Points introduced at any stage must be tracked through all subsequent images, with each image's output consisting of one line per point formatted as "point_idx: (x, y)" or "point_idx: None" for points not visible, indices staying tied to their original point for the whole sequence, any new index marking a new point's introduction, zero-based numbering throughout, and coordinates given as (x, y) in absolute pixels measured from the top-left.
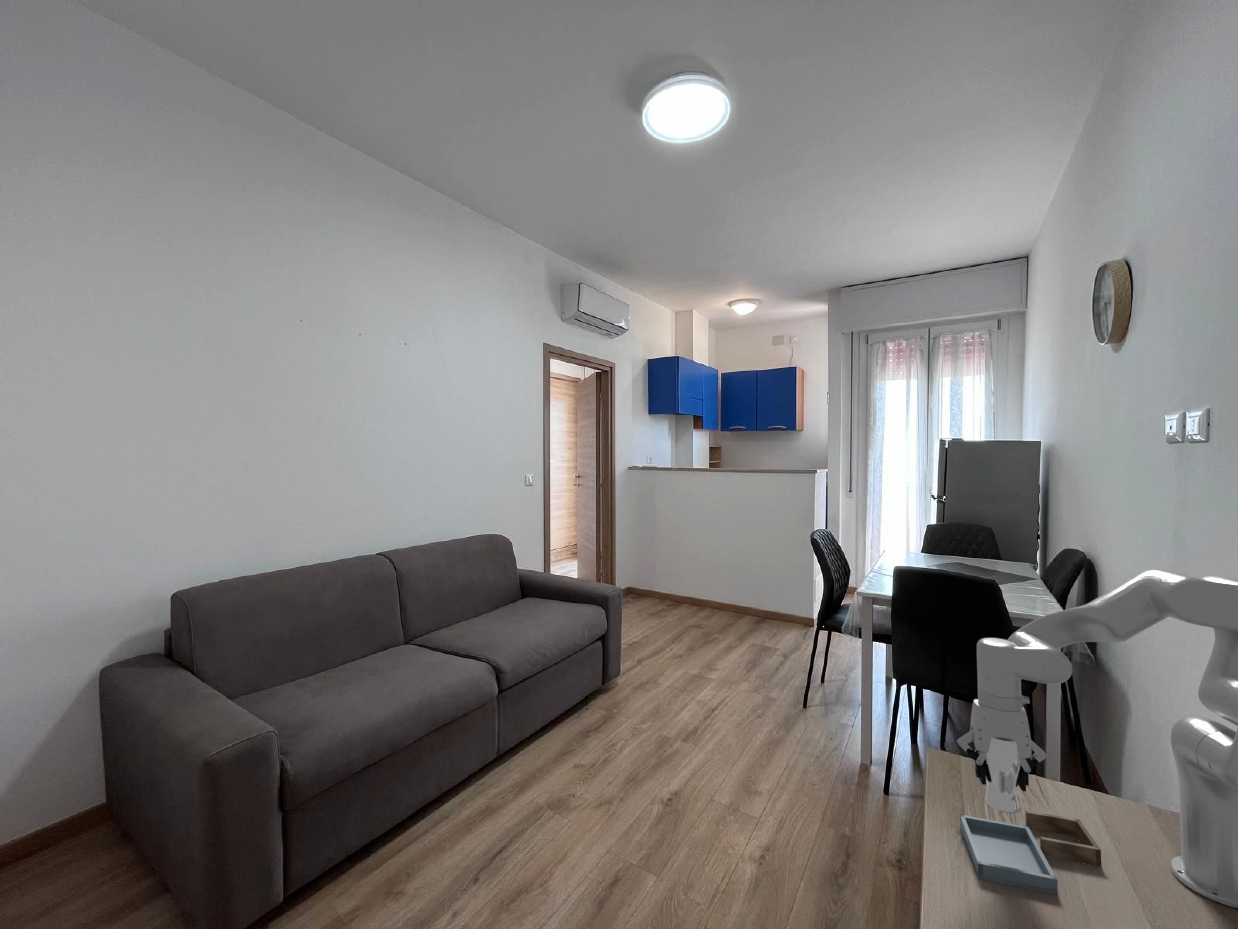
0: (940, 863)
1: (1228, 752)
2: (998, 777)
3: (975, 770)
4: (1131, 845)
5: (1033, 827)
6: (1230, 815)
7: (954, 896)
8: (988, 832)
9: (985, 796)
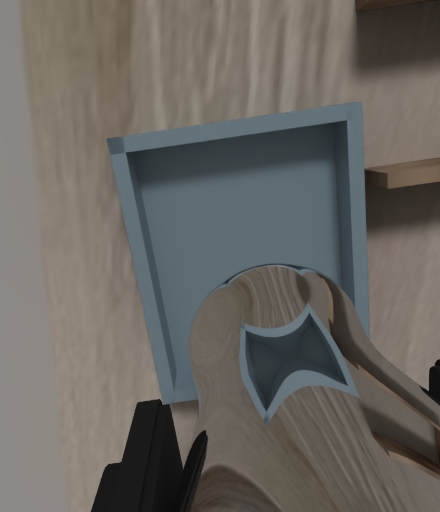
0: (71, 361)
1: None
2: None
3: (99, 489)
4: None
5: (382, 5)
6: None
7: (112, 462)
8: (211, 148)
9: (190, 366)
